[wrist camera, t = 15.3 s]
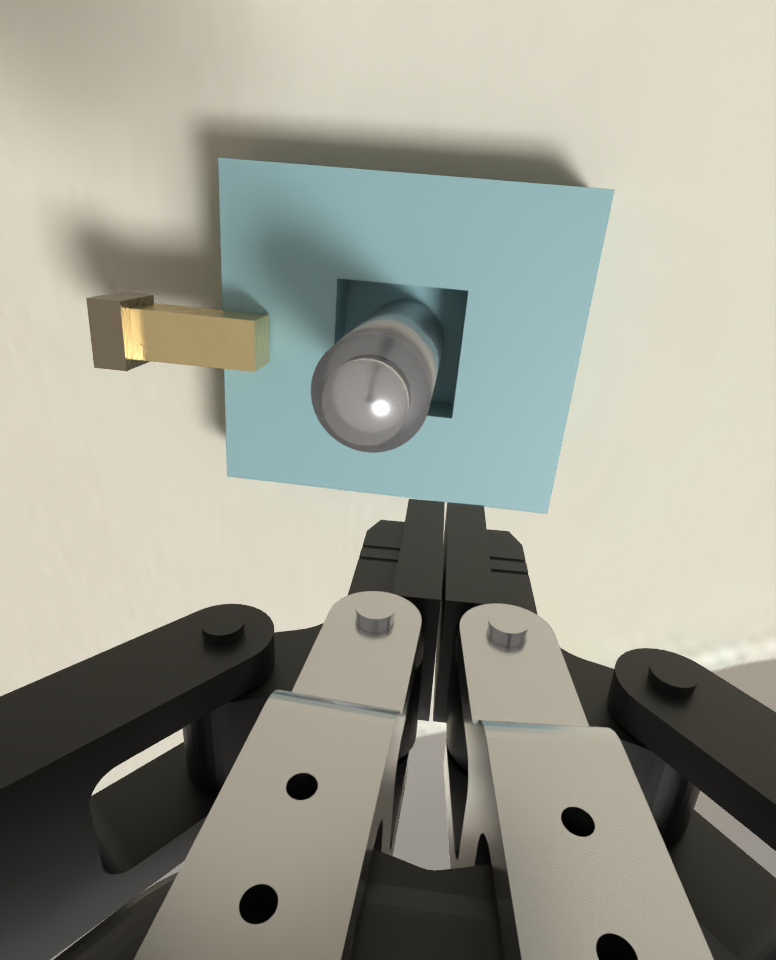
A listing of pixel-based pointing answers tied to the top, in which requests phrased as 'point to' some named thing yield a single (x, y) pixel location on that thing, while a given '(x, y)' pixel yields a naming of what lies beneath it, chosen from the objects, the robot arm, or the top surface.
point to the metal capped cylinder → (380, 378)
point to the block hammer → (174, 334)
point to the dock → (431, 281)
